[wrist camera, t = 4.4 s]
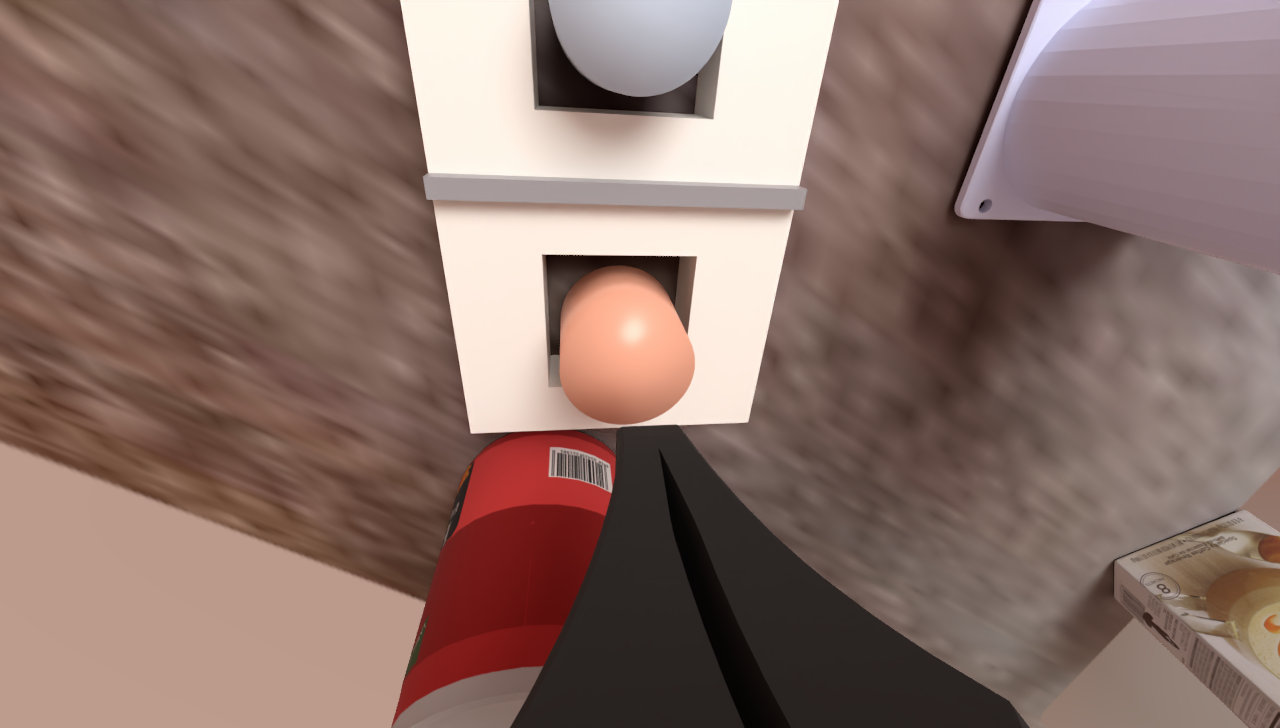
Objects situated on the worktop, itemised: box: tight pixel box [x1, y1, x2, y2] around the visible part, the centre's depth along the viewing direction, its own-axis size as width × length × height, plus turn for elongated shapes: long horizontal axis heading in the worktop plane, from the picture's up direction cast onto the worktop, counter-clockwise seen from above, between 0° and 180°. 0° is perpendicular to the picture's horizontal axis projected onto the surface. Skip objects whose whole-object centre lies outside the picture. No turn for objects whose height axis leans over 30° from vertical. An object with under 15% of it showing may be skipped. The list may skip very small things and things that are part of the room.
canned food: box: [391, 430, 616, 728], centre depth 18 cm, size 8×8×11 cm
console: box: [400, 0, 839, 433], centre depth 15 cm, size 11×18×3 cm, turn 177°
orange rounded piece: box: [559, 265, 695, 425], centre depth 15 cm, size 4×4×4 cm
